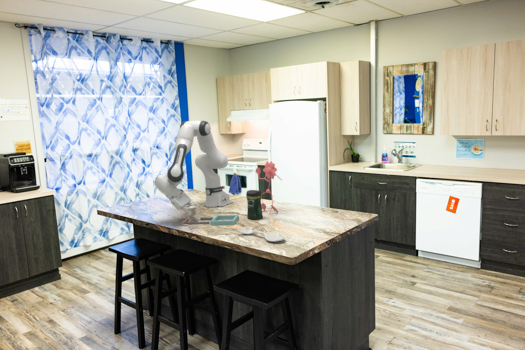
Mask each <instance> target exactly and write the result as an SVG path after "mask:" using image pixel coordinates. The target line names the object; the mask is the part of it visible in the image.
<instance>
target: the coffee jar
mask: <svg viewBox="0 0 525 350" xmlns="http://www.w3.org/2000/svg"><path fill="white" fill-rule="evenodd" d="M261 194H262V192H261V190H257V189H249V190H246V195H245V196H246V201H247V212H246V213H247V215H246V217H247V219H249V220H261V219H262V218H263V217H264V216H263V209H262V207H261V204H262V197H261V196H262V195H263V194H262V195H261Z"/></svg>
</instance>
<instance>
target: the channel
mask: <svg viewBox="0 0 525 350" xmlns="http://www.w3.org/2000/svg"><path fill="white" fill-rule="evenodd" d="M214 217H215V216H213V217H211V216H210V217H207V216H206V217H205V216H204V217H201V216H200V222H189V217H187V218H185V220H183V221H182V222H181V225H182V224H209V225H211V224H210V221H211V220H212V219H213V218H214Z"/></svg>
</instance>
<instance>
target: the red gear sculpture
mask: <svg viewBox="0 0 525 350" xmlns="http://www.w3.org/2000/svg"><path fill="white" fill-rule="evenodd" d="M275 165H276V164H275V163H273V161H270V162H269V161H267V160H266V162H265V164H264V168H263V169H262V170H261V168H260V167H257V168H256V170H255V173H256V174H257V175H258V179H259V180H265V181H267V182H268V188H267V189H266V191H265V192H262V193H261V195H264V194H265V193H267V194H270V195H271V203H272V204H270V206H271V207H270V208H267V205H266V203H264V200H263V197H262V196H261V207H262V211H266V209H270V210H269V215H271V213H272V210H273V211H274V212H276V213H279V212H278V208H276V207H275V206H274V205H273V204H274V203H273V202H274V199H273V197H274V196H273V194H272V192H271V189H270V187H271V180H274V178H275V177H277V178H278V179H279V180H281V178H280V176H279V175H277V173H276V172H278V169H277V167H276V166H275ZM262 171H263V173H264V175H265V176H264V177H262V178H261V177H260V175H261V173H262ZM266 177H267V178H266ZM279 210H280V211H282V209H280V208H279Z"/></svg>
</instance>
